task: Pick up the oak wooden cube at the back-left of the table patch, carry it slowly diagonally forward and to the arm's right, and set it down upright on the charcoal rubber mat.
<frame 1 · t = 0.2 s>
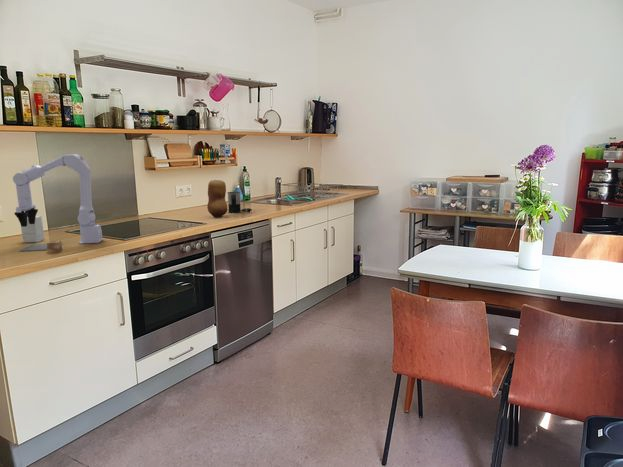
hand: (28, 225, 224), 10 cm above the table, tool pointing down, fingers open, 7 cm apart
supplement box: (34, 241, 236), on the table
butternut squash: (217, 217, 309), on the table
oak cube: (55, 251, 210), on the table
milk frother: (240, 212, 330), on the table
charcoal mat: (41, 247, 220), on the table
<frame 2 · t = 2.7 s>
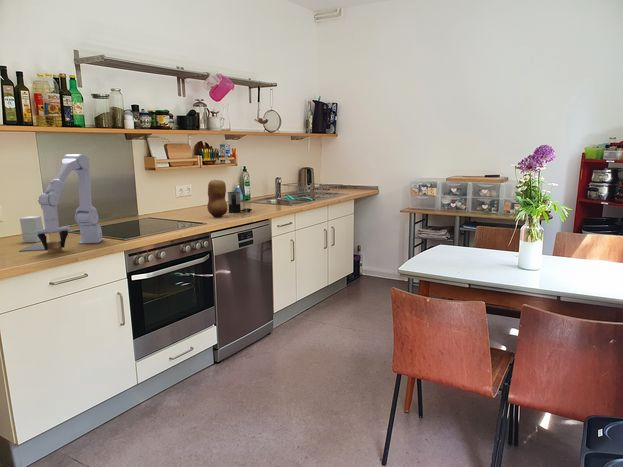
hand: (54, 248, 210), 1 cm above the table, tool pointing down, fingers closed on oak cube, 6 cm apart
oak cube: (55, 251, 210), on the table, touching gripper
everything else where it was.
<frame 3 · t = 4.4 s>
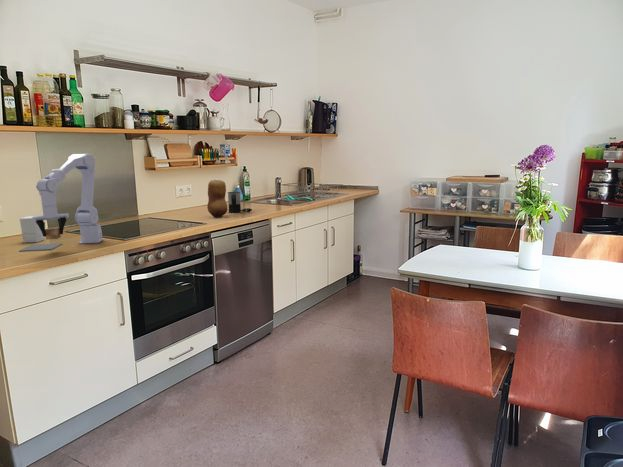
hand: (53, 235, 209), 8 cm above the table, tool pointing down, fingers closed on oak cube, 6 cm apart
oak cube: (53, 238, 209), point 6 cm above the table, touching gripper
everything else where it was.
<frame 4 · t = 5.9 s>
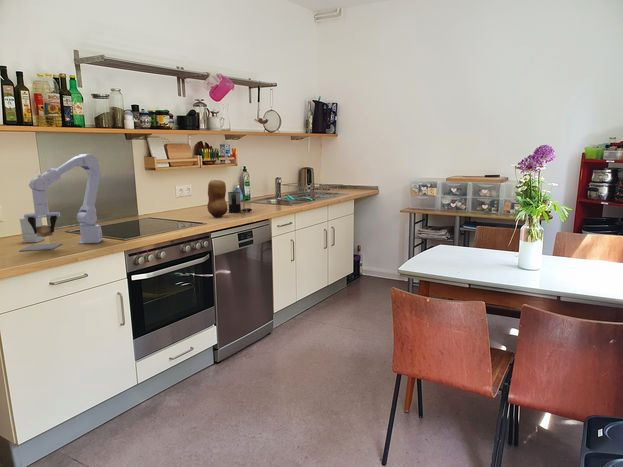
hand: (44, 232, 215), 8 cm above the table, tool pointing down, fingers closed on oak cube, 6 cm apart
oak cube: (44, 235, 215), point 6 cm above the table, touching gripper
everything else where it was.
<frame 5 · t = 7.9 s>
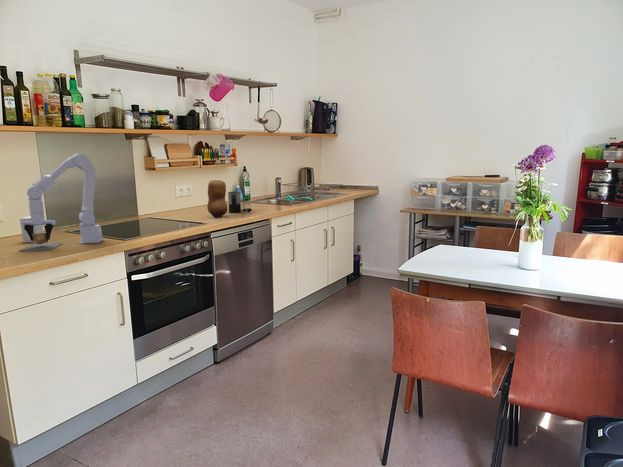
hand: (40, 240, 219), 4 cm above the table, tool pointing down, fingers closed on oak cube, 6 cm apart
oak cube: (40, 242, 219), point 2 cm above the table, touching gripper
everything else where it was.
when the fingers open (3 cm above the table, at t = 9.3 s): oak cube stays where it is, resting on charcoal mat.
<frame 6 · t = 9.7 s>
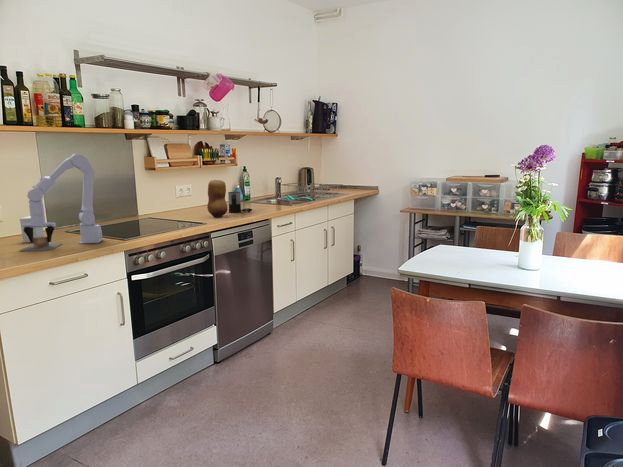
hand: (40, 242, 219), 3 cm above the table, tool pointing down, fingers open, 7 cm apart
oak cube: (41, 246, 219), resting on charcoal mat
everything else where it was.
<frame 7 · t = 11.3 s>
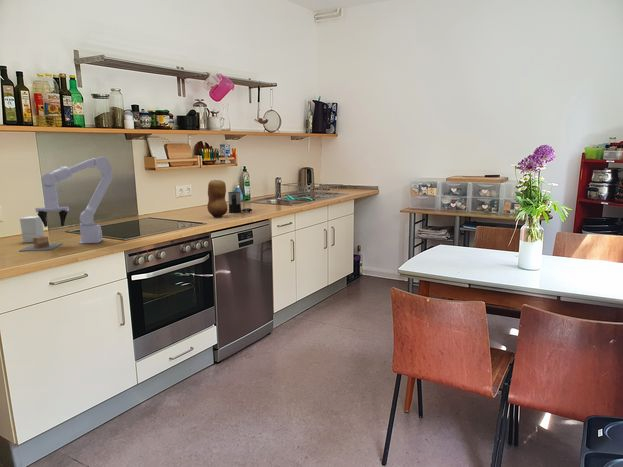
hand: (54, 226, 223), 9 cm above the table, tool pointing down, fingers open, 7 cm apart
nothing on the table moved.
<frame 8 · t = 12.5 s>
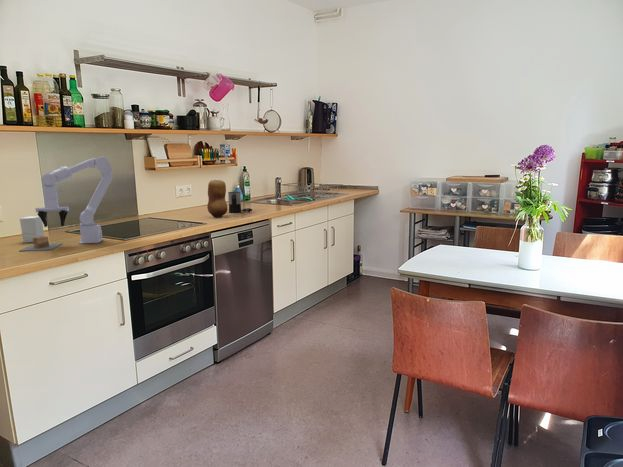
hand: (54, 226, 223), 9 cm above the table, tool pointing down, fingers open, 7 cm apart
nothing on the table moved.
at the end: oak cube inside the target area on the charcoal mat (0.0 cm from its centre), point 0.5 cm above the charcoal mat's base; oak cube tilted 0°; the gripper is holding nothing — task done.
